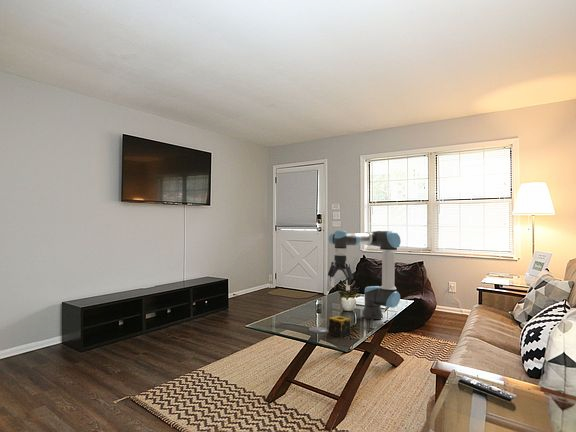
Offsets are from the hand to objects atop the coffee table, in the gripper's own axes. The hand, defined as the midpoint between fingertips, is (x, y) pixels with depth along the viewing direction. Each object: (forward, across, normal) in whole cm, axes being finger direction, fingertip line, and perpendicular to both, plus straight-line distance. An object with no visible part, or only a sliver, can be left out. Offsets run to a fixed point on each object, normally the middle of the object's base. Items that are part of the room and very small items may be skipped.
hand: (340, 288), depth 215 cm
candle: (+28, +1, -1) cm, 28 cm away
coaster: (+28, -12, -7) cm, 31 cm away
